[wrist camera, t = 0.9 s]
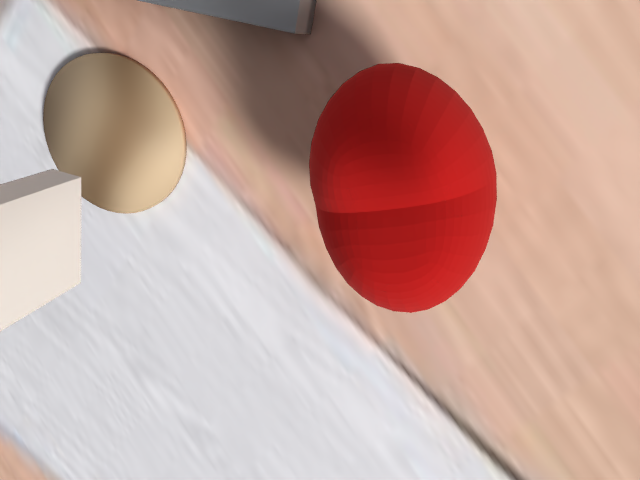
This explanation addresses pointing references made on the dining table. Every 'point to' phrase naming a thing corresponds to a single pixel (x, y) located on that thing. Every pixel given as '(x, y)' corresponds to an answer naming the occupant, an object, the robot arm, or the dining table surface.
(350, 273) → the red rounded piece
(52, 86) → the cork coaster
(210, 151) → the dining table surface
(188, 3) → the socket dish
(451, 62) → the dining table surface
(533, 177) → the dining table surface
